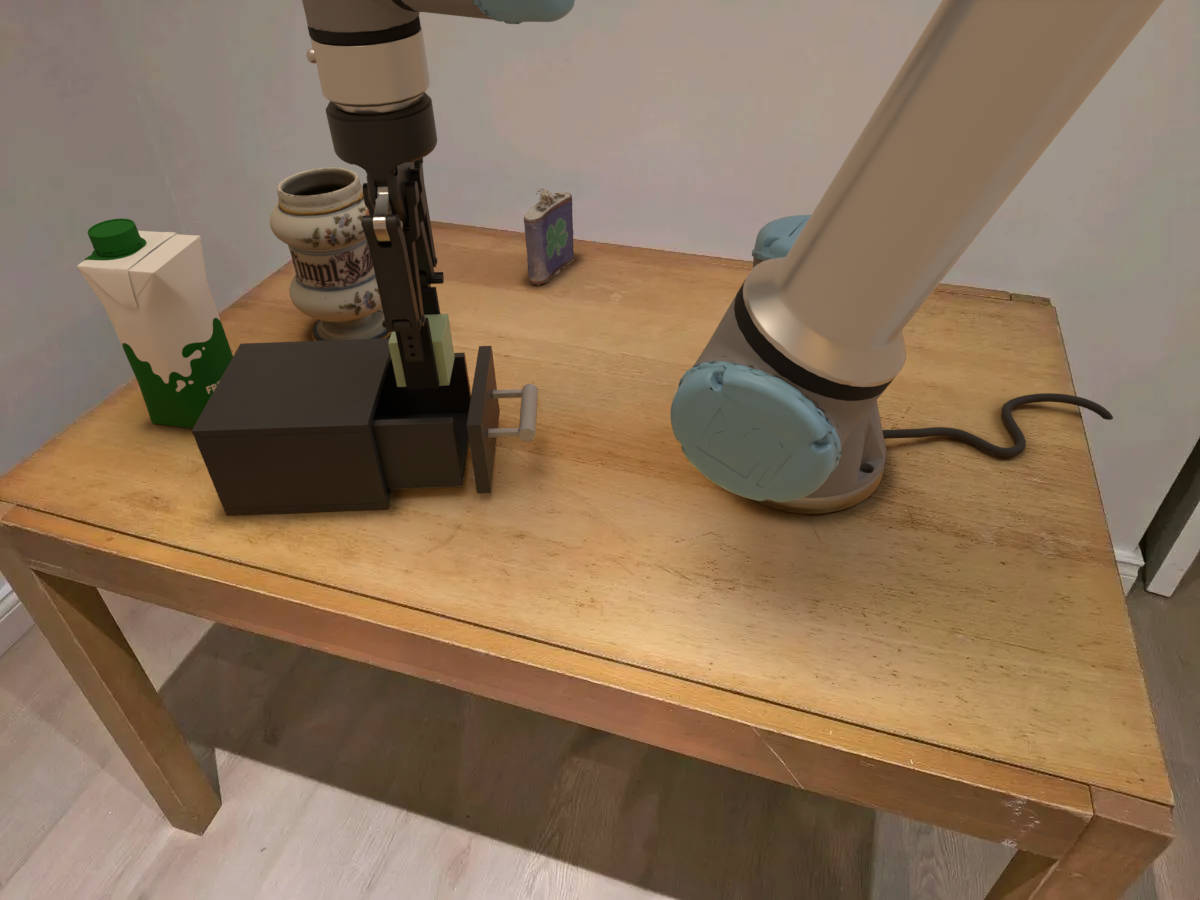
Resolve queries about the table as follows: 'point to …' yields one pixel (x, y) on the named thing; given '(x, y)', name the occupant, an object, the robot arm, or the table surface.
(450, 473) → the drawer
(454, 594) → the table surface
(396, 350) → the block
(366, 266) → the apothecary jar
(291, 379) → the cabinet
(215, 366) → the milk carton
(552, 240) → the flask
